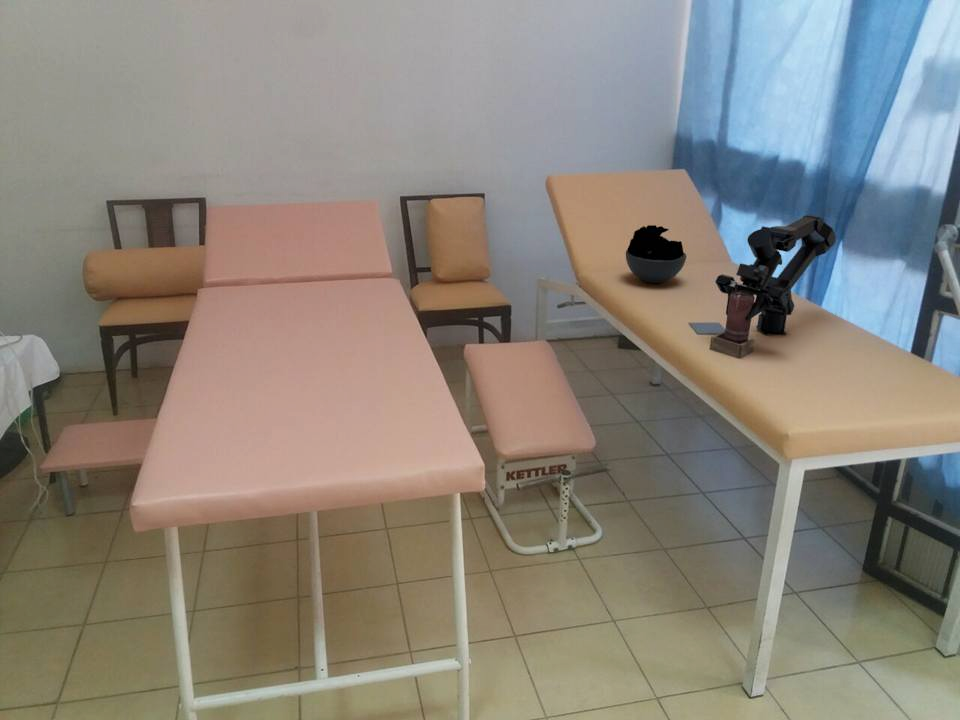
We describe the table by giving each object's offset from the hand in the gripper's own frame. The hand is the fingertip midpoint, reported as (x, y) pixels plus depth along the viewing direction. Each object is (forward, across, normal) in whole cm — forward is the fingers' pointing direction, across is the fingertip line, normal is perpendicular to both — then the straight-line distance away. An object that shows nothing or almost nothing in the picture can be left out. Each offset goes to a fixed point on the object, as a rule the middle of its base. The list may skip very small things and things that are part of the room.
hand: (736, 317), depth 205 cm
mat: (0, -13, +14) cm, 19 cm away
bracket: (+6, 0, +7) cm, 9 cm away
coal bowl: (-19, -51, +33) cm, 63 cm away
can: (+4, 0, +6) cm, 8 cm away
